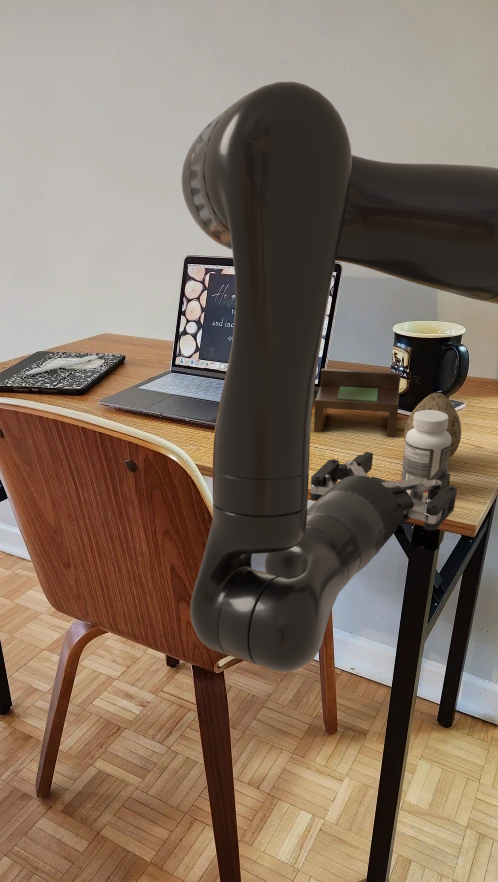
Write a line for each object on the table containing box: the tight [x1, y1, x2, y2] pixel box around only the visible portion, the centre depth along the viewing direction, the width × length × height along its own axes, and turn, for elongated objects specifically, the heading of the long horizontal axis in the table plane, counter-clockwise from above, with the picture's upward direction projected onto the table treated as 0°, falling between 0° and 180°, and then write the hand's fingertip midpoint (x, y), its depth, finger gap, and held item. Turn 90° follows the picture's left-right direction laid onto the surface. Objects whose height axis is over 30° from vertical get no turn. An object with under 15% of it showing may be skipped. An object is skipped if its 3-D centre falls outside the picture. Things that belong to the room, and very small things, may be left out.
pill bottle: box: [400, 410, 452, 498], centre depth 84 cm, size 5×5×10 cm
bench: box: [313, 368, 402, 438], centre depth 105 cm, size 12×8×8 cm, turn 76°
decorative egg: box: [403, 392, 462, 460], centre depth 90 cm, size 7×7×10 cm
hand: (405, 467), depth 77 cm, fingers open, 8 cm apart
